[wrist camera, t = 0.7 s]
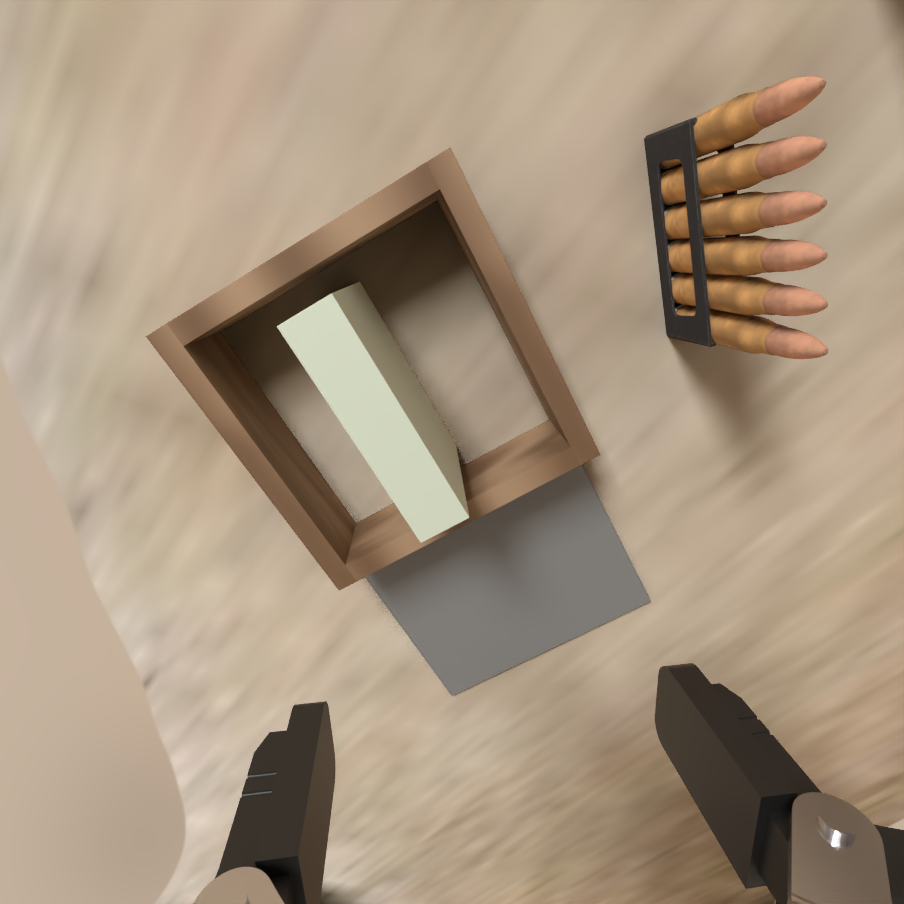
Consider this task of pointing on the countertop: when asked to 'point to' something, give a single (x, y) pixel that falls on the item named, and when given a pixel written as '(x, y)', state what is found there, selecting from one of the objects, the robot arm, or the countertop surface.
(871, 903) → the robot arm
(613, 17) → the countertop surface
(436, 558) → the rubber mat
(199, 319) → the walnut box
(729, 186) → the ammunition clip
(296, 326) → the pale green rectangular block
